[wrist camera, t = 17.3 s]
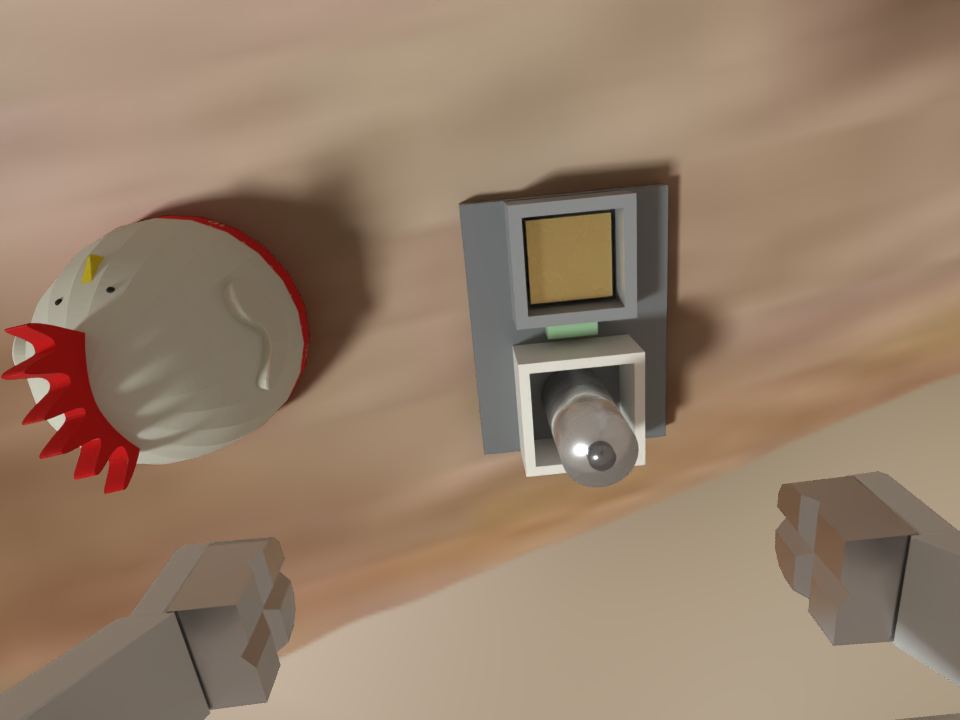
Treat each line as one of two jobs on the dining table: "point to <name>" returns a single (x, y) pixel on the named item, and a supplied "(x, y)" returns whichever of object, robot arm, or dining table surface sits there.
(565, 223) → the plate
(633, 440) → the cell
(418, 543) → the dining table surface
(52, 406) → the kitchen timer
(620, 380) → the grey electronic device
